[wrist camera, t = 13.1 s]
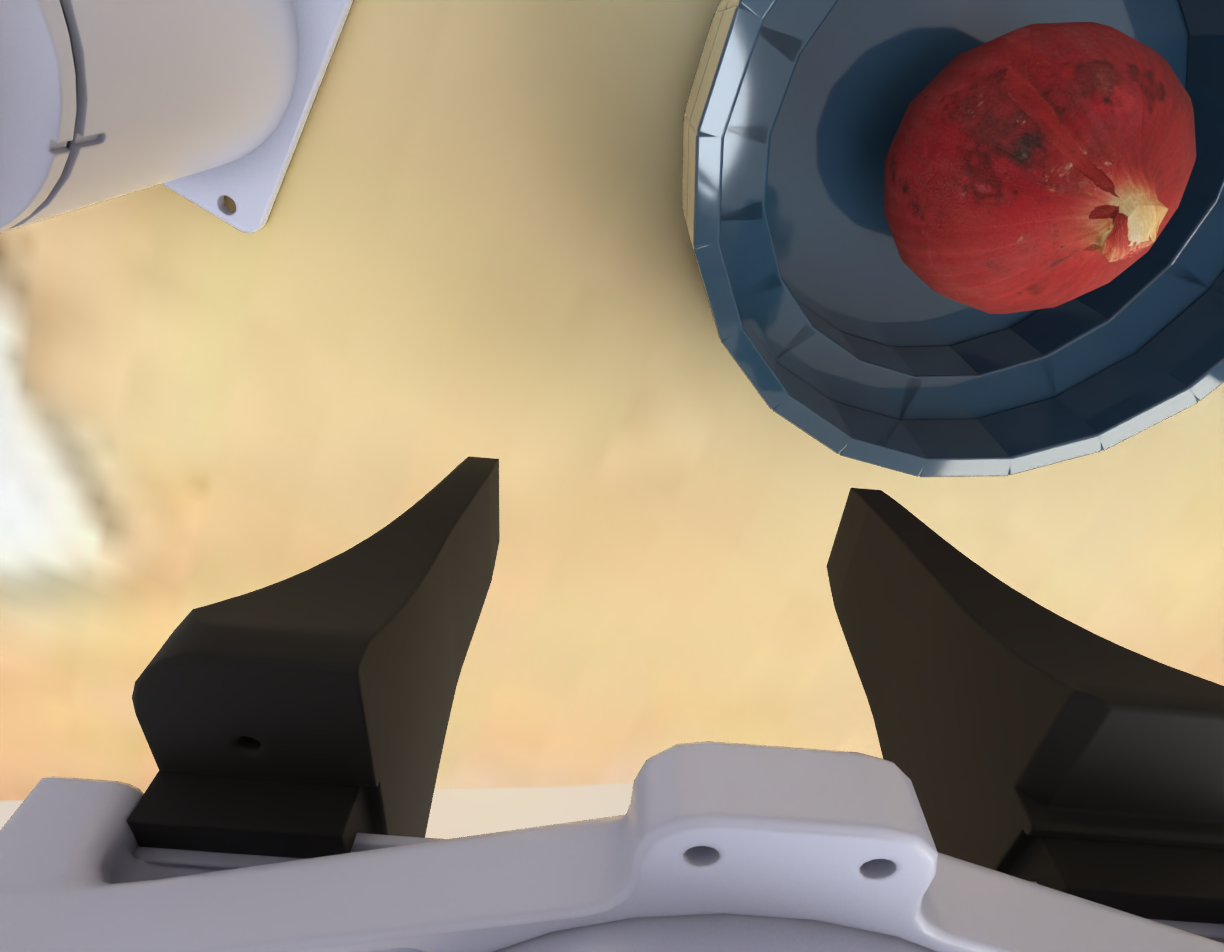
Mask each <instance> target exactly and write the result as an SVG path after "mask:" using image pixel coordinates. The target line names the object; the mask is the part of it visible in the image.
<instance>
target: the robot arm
mask: <svg viewBox="0 0 1224 952" xmlns="http://www.w3.org/2000/svg"><path fill="white" fill-rule="evenodd" d="M352 3H353V0H0V233H2V232H6V231H9V230H12V229H15V228H19V227H22V226H25V225H28V224H32V223H35V222H38V221H41V220H45V219H48V218H51V217H54V216H58V215H61V214H64V213H68V212H71V211H74V210H77V209H81V208H84V207H87V206H90V205H94V204H97V203H100V202H103V201H107V200H110V199H113V198H116V197H120V196H123V195H126V194H130V193H133V192H136V191H139V190H143V189H146V188H149V187H152V186H156V185H159V184H163V185H165V186H166V187H168V188H170V189H171V190H173V191H175V192H176V193H178V194H180V195H181V196H183V197H185V198H186V199H188V200H190V201H191V202H193V203H195V204H196V205H198V206H200V207H201V208H203V209H205V210H206V211H208V212H210V213H211V214H213V215H215V216H216V217H218V218H220V219H221V220H223V221H225V222H226V223H228V224H230V225H231V226H233V227H235V228H236V229H238V230H240V231H242V232H245V233H253V232H255V231H257V230H259V229H261V228H263V227H264V225H265V224H266V222H267V219H268V217H269V214H270V212H271V209H272V207H273V204H274V201H275V199H276V196H277V194H278V191H279V189H280V186H281V184H282V181H283V179H284V176H285V173H286V171H287V168H288V166H289V163H290V161H291V158H292V156H293V153H294V151H295V148H296V145H297V143H298V140H299V138H300V135H301V133H302V130H303V128H304V125H305V123H306V120H307V117H308V115H309V112H310V110H311V107H312V105H313V102H314V100H315V97H316V95H317V92H318V89H319V87H320V84H321V82H322V79H323V77H324V74H325V72H326V69H327V67H328V64H329V61H330V59H331V56H332V54H333V51H334V49H335V46H336V44H337V41H338V39H339V36H340V33H341V31H342V28H343V26H344V23H345V21H346V18H347V16H348V13H349V11H350V8H351V5H352ZM225 195H226V196H229V197H230V198H231V199H232V200H233V201H234V202H235V205H236V211H235V212H233V211H231V210H229V209H228V208H227V207H226V205H225V203H224V196H225ZM498 545H499V459H491V458H479V457H468V458H467V459H465V460H464V461H463V462H462V463H461V464H460V465H458V466H457V467H456V468H455V469H454V470H453V471H452V472H451V473H450V474H449V475H448V476H447V477H445V478H444V479H443V480H442V481H441V482H440V483H439V484H438V485H437V486H436V487H434V488H433V489H432V490H431V491H430V492H429V493H428V494H426V495H425V496H424V497H423V498H422V499H420V500H419V501H418V502H417V503H416V504H415V505H413V506H412V507H411V508H410V509H408V510H407V511H406V512H405V513H403V514H402V515H401V516H399V517H398V518H397V519H395V520H394V521H393V522H391V523H390V524H389V525H387V526H386V527H384V528H383V529H381V530H380V531H378V532H377V533H375V534H374V535H372V536H371V537H369V538H367V539H366V540H364V541H362V542H361V543H359V544H357V545H356V546H354V547H352V548H351V549H349V550H347V551H345V552H343V553H341V554H339V555H337V556H335V557H333V558H331V559H329V560H327V561H325V562H323V563H321V564H319V565H317V566H315V567H313V568H311V569H309V570H307V571H305V572H302V573H300V574H298V575H295V576H293V577H290V578H288V579H286V580H283V581H281V582H278V583H275V584H273V585H270V586H267V587H265V588H262V589H259V590H256V591H253V592H250V593H247V594H244V595H241V596H238V597H234V598H231V599H228V600H224V601H221V602H218V603H214V604H211V605H207V606H204V607H200V608H196V609H193V610H192V611H191V612H190V613H189V614H188V616H187V617H186V618H185V619H184V620H183V621H182V622H181V624H180V625H179V626H178V627H177V628H176V629H175V630H174V632H173V633H172V634H171V636H170V637H169V638H168V640H167V641H166V642H165V644H164V645H163V646H162V648H161V649H160V650H159V652H158V653H157V654H156V656H155V657H154V658H153V660H152V661H151V662H150V664H149V665H148V666H147V667H146V669H145V670H144V671H143V673H142V674H141V675H140V677H139V678H138V679H137V681H136V682H135V686H134V691H133V695H132V700H133V704H134V708H135V713H136V716H137V718H138V721H139V723H140V725H141V728H142V730H143V732H144V735H145V737H146V740H147V742H148V744H149V747H150V749H151V751H152V754H153V756H154V759H155V761H156V763H157V766H158V768H159V772H158V773H157V775H156V776H155V778H154V780H153V781H152V783H151V784H150V786H149V787H148V789H147V790H146V792H145V793H143V792H142V791H141V790H140V789H138V788H136V787H134V786H132V785H130V784H127V783H123V782H118V781H107V780H93V779H79V778H65V777H46V778H43V779H41V780H40V781H39V783H38V784H37V785H36V786H35V788H34V789H33V790H32V791H31V793H30V794H29V795H28V796H27V798H26V799H25V800H24V801H23V803H22V804H21V805H20V807H19V808H18V809H17V810H16V811H15V813H14V814H13V815H12V816H11V818H10V819H9V820H8V821H7V823H6V824H5V825H4V827H3V828H2V829H1V830H0V952H1224V686H1222V685H1219V684H1216V683H1214V682H1211V681H1208V680H1205V679H1203V678H1200V677H1197V676H1194V675H1192V674H1189V673H1186V672H1183V671H1180V670H1178V669H1175V668H1172V667H1169V666H1167V665H1164V664H1162V663H1159V662H1157V661H1154V660H1152V659H1150V658H1147V657H1145V656H1143V655H1140V654H1138V653H1136V652H1133V651H1131V650H1129V649H1126V648H1124V647H1121V646H1119V645H1117V644H1115V643H1113V642H1111V641H1108V640H1106V639H1104V638H1102V637H1100V636H1098V635H1096V634H1094V633H1092V632H1090V631H1088V630H1086V629H1084V628H1082V627H1080V626H1078V625H1076V624H1074V623H1072V622H1070V621H1068V620H1066V619H1064V618H1062V617H1060V616H1058V615H1057V614H1055V613H1053V612H1051V611H1049V610H1048V609H1046V608H1044V607H1042V606H1040V605H1039V604H1037V603H1036V602H1034V601H1032V600H1031V599H1029V598H1027V597H1026V596H1024V595H1022V594H1021V593H1019V592H1017V591H1016V590H1014V589H1012V588H1011V587H1009V586H1008V585H1006V584H1005V583H1003V582H1002V581H1000V580H999V579H997V578H996V577H994V576H993V575H991V574H990V573H988V572H987V571H986V570H984V569H983V568H981V567H980V566H979V565H977V564H976V563H974V562H973V561H971V560H970V559H969V558H967V557H966V556H965V555H963V554H962V553H961V552H959V551H958V550H957V549H955V548H954V547H953V546H952V545H950V544H949V543H948V542H946V541H945V540H944V539H943V538H941V537H940V536H939V535H938V534H936V533H935V532H934V531H933V530H931V529H930V528H929V527H928V526H926V525H925V524H924V523H923V522H921V521H920V520H919V519H918V518H916V517H915V516H914V515H913V514H912V513H910V512H909V511H908V510H907V509H905V508H904V507H903V506H901V505H900V504H899V503H898V502H896V501H895V500H894V499H892V498H891V497H890V496H888V495H887V494H885V493H884V492H882V491H881V490H871V489H858V488H851V489H850V492H849V496H848V499H847V502H846V505H845V509H844V512H843V515H842V518H841V522H840V525H839V528H838V531H837V534H836V538H835V541H834V544H833V547H832V551H831V554H830V557H829V560H828V564H827V570H828V576H829V582H830V587H831V592H832V597H833V601H834V606H835V610H836V613H837V616H838V619H839V621H840V624H841V627H842V630H843V633H844V635H845V638H846V641H847V644H848V647H849V649H850V652H851V655H852V657H853V660H854V663H855V666H856V668H857V671H858V674H859V677H860V679H861V682H862V685H863V688H864V690H865V693H866V696H867V699H868V702H869V705H870V708H871V711H872V715H873V718H874V722H875V726H876V730H877V734H878V738H879V743H880V747H881V751H882V755H883V759H880V758H877V757H873V756H869V755H865V754H862V753H858V752H844V751H831V750H818V749H804V748H791V747H778V746H765V745H751V744H738V743H725V742H711V741H707V742H696V743H685V744H676V745H674V746H672V747H670V748H668V749H666V750H665V751H663V752H661V753H659V754H657V755H655V756H653V757H651V758H649V759H648V760H646V762H645V763H644V765H643V767H642V768H641V770H640V772H639V773H638V775H637V777H636V778H635V780H634V784H633V791H632V797H631V804H630V806H629V809H628V812H627V813H626V814H625V815H619V816H612V817H605V818H597V819H591V820H583V821H577V822H569V823H562V824H554V825H547V826H540V827H533V828H525V829H518V830H511V831H504V832H496V833H490V834H482V835H475V836H467V837H461V838H453V839H434V838H425V834H426V828H427V823H428V818H429V813H430V808H431V803H432V797H433V793H434V788H435V783H436V778H437V773H438V768H439V763H440V758H441V754H442V749H443V744H444V739H445V735H446V730H447V725H448V721H449V717H450V712H451V708H452V703H453V699H454V694H455V690H456V686H457V682H458V679H459V675H460V672H461V669H462V665H463V663H464V660H465V657H466V654H467V651H468V648H469V645H470V642H471V639H472V636H473V633H474V631H475V628H476V625H477V622H478V619H479V616H480V613H481V610H482V607H483V604H484V601H485V598H486V595H487V592H488V589H489V586H490V583H491V580H492V575H493V570H494V565H495V560H496V555H497V550H498Z"/></svg>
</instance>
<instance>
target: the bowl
mask: <svg viewBox="0 0 1224 952" xmlns="http://www.w3.org/2000/svg"><path fill="white" fill-rule="evenodd" d="M1067 22H1095V23H1099V24H1103V25H1107V26H1111V27H1113V28H1115V29H1117V30H1118V31H1120V32H1122V33H1124V34H1126V35H1128V36H1130V37H1132V38H1133V39H1135V40H1137V41H1139V42H1141V43H1143V44H1145V45H1147V46H1148V47H1150V48H1152V49H1154V50H1155V51H1156V52H1157V53H1159V54H1160V55H1161V56H1162V57H1163V58H1164V59H1165V60H1166V61H1167V62H1168V64H1169V65H1170V67H1171V68H1172V70H1173V71H1174V73H1175V74H1176V76H1177V78H1178V79H1179V81H1180V82H1181V84H1182V85H1183V87H1184V88H1185V90H1186V91H1187V93H1188V94H1189V96H1190V98H1191V102H1192V106H1193V110H1194V125H1195V141H1196V159H1195V163H1194V166H1193V169H1192V172H1191V174H1190V177H1189V180H1188V182H1187V185H1186V188H1185V190H1184V193H1183V196H1182V198H1181V201H1180V204H1179V207H1178V208H1177V210H1176V211H1175V213H1174V214H1173V216H1172V217H1171V218H1170V220H1169V221H1168V223H1167V224H1166V226H1165V227H1164V229H1163V230H1162V232H1161V233H1160V235H1159V236H1158V238H1157V239H1156V241H1155V242H1154V244H1153V245H1152V246H1151V248H1150V249H1149V251H1148V252H1147V253H1146V254H1144V255H1143V256H1142V257H1141V258H1139V259H1138V260H1137V261H1136V262H1134V263H1133V264H1132V265H1131V266H1129V267H1128V268H1127V269H1126V270H1124V271H1123V272H1122V273H1121V274H1119V275H1118V276H1117V277H1116V278H1114V279H1113V280H1112V281H1111V282H1109V283H1108V284H1105V285H1103V286H1101V287H1099V288H1097V289H1094V290H1092V291H1090V292H1088V293H1086V294H1084V295H1081V296H1079V297H1077V298H1075V299H1073V300H1070V301H1068V302H1066V303H1064V304H1061V305H1059V306H1057V307H1053V308H1046V309H1038V310H1031V311H1023V312H1016V313H1008V314H989V313H986V312H983V311H981V310H978V309H975V308H973V307H970V306H967V305H965V304H962V303H959V302H957V301H954V300H951V299H948V298H946V297H944V296H942V295H940V294H939V293H937V292H935V291H933V290H932V289H931V288H930V287H929V286H928V285H927V284H926V283H925V282H924V281H922V280H921V279H920V278H919V277H918V276H917V275H916V274H915V273H914V272H913V271H912V270H911V269H910V268H909V267H908V266H907V265H906V264H905V263H903V262H902V260H901V257H900V255H899V252H898V249H897V247H896V244H895V241H894V239H893V236H892V233H891V231H890V228H889V225H888V223H887V220H886V216H885V211H884V174H885V157H886V154H887V152H888V150H889V148H890V145H891V143H892V141H893V139H894V136H895V134H896V132H897V130H898V128H899V125H900V123H901V121H902V119H903V116H904V114H905V112H906V110H907V107H908V105H909V103H910V102H911V101H912V100H913V99H914V98H915V97H916V96H917V95H918V94H919V93H920V92H921V91H922V90H923V89H924V88H925V87H926V86H927V85H928V84H929V83H930V82H931V81H932V80H933V79H934V78H935V76H936V75H937V74H938V73H939V72H940V71H941V70H942V69H943V68H944V67H945V66H946V65H947V64H948V63H949V62H950V61H951V60H952V59H953V58H954V57H955V56H957V55H959V54H961V53H963V52H966V51H968V50H970V49H973V48H975V47H977V46H979V45H982V44H984V43H986V42H989V41H991V40H993V39H995V38H998V37H1000V36H1002V35H1004V34H1007V33H1009V32H1011V31H1014V30H1016V29H1019V28H1022V27H1025V26H1028V25H1030V24H1038V23H1067ZM682 206H683V213H684V217H685V221H686V225H687V228H688V232H689V236H690V239H691V243H692V247H693V250H694V254H695V257H696V260H697V264H698V267H699V270H700V274H701V277H702V281H703V284H704V287H705V291H706V294H707V297H708V301H709V304H710V308H711V311H712V314H713V318H714V321H715V324H716V328H717V331H718V334H719V338H720V339H721V342H722V344H723V345H724V346H725V348H726V349H727V350H728V352H729V353H730V355H731V356H732V357H733V359H734V360H735V361H736V363H737V364H738V365H739V367H740V368H741V370H742V371H743V372H744V374H745V375H746V376H747V378H748V379H749V380H750V382H751V383H752V385H753V386H754V387H755V389H756V390H757V391H758V393H759V394H760V395H761V397H762V398H763V400H764V401H765V402H766V404H767V405H768V406H769V408H770V409H772V410H773V411H774V412H776V413H777V414H779V415H780V416H782V417H783V418H785V419H786V420H788V421H789V422H791V423H792V424H793V425H795V426H796V427H798V428H799V429H801V430H802V431H804V432H805V433H807V434H808V435H810V436H811V437H813V438H814V439H816V440H817V441H819V442H820V443H822V444H823V445H825V446H826V447H828V448H829V449H831V450H832V451H834V452H835V453H837V454H840V455H841V456H845V457H848V458H852V459H856V460H859V461H863V462H866V463H870V464H874V465H877V466H881V467H885V468H888V469H892V470H896V471H899V472H903V473H907V474H910V475H914V476H920V477H964V476H1007V475H1012V474H1016V473H1020V472H1024V471H1028V470H1032V469H1035V468H1039V467H1043V466H1047V465H1051V464H1054V463H1058V462H1062V461H1066V460H1070V459H1074V458H1077V457H1081V456H1085V455H1089V454H1093V453H1096V452H1100V451H1101V450H1106V449H1108V448H1110V447H1112V446H1114V445H1116V444H1118V443H1120V442H1122V441H1124V440H1126V439H1128V438H1130V437H1132V436H1134V435H1135V434H1137V433H1139V432H1141V431H1143V430H1145V429H1147V428H1149V427H1151V426H1153V425H1155V424H1157V423H1159V422H1161V421H1163V420H1165V419H1167V418H1169V417H1171V416H1173V415H1175V414H1177V413H1179V412H1181V411H1183V410H1185V409H1187V408H1189V407H1191V406H1193V405H1195V404H1196V403H1198V401H1200V400H1202V399H1203V398H1204V397H1206V396H1207V395H1208V394H1209V393H1211V392H1212V391H1213V390H1215V389H1216V388H1217V387H1218V386H1220V385H1221V384H1222V383H1223V382H1224V0H722V1H721V3H720V4H719V6H718V7H717V9H716V13H715V14H714V17H713V20H712V23H711V26H710V30H709V33H708V36H707V40H706V43H705V46H704V49H703V53H702V56H701V59H700V63H699V66H698V69H697V72H696V76H695V79H694V82H693V85H692V89H691V92H690V95H689V99H688V102H687V105H686V108H685V116H684V127H683V186H682Z"/></svg>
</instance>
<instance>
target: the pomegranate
mask: <svg viewBox="0 0 1224 952" xmlns="http://www.w3.org/2000/svg"><path fill="white" fill-rule="evenodd" d="M1195 159H1196V141H1195V125H1194V110H1193V106H1192V102H1191V98H1190V96H1189V94H1188V93H1187V91H1186V90H1185V88H1184V87H1183V85H1182V84H1181V82H1180V81H1179V79H1178V78H1177V76H1176V74H1175V73H1174V71H1173V70H1172V68H1171V67H1170V65H1169V64H1168V62H1167V61H1166V60H1165V59H1164V58H1163V57H1162V56H1161V55H1160V54H1159V53H1157V52H1156V51H1155V50H1154V49H1152V48H1150V47H1148V46H1147V45H1145V44H1143V43H1141V42H1139V41H1137V40H1135V39H1133V38H1132V37H1130V36H1128V35H1126V34H1124V33H1122V32H1120V31H1118V30H1117V29H1115V28H1113V27H1111V26H1107V25H1103V24H1099V23H1095V22H1067V23H1038V24H1030V25H1028V26H1025V27H1022V28H1019V29H1016V30H1014V31H1011V32H1009V33H1007V34H1004V35H1002V36H1000V37H998V38H995V39H993V40H991V41H989V42H986V43H984V44H982V45H979V46H977V47H975V48H973V49H970V50H968V51H966V52H963V53H961V54H959V55H957V56H955V57H954V58H953V59H952V60H951V61H950V62H949V63H948V64H947V65H946V66H945V67H944V68H943V69H942V70H941V71H940V72H939V73H938V74H937V75H936V76H935V78H934V79H933V80H932V81H931V82H930V83H929V84H928V85H927V86H926V87H925V88H924V89H923V90H922V91H921V92H920V93H919V94H918V95H917V96H916V97H915V98H914V99H913V100H912V101H911V102H910V103H909V105H908V107H907V110H906V112H905V114H904V116H903V119H902V121H901V123H900V125H899V128H898V130H897V132H896V134H895V136H894V139H893V141H892V143H891V145H890V148H889V150H888V152H887V154H886V157H885V174H884V211H885V216H886V220H887V223H888V225H889V228H890V231H891V233H892V236H893V239H894V241H895V244H896V247H897V249H898V252H899V255H900V257H901V260H902V262H903V263H905V264H906V265H907V266H908V267H909V268H910V269H911V270H912V271H913V272H914V273H915V274H916V275H917V276H918V277H919V278H920V279H921V280H922V281H924V282H925V283H926V284H927V285H928V286H929V287H930V288H931V289H932V290H933V291H935V292H937V293H939V294H940V295H942V296H944V297H946V298H948V299H951V300H954V301H957V302H959V303H962V304H965V305H967V306H970V307H973V308H975V309H978V310H981V311H983V312H986V313H989V314H1008V313H1016V312H1023V311H1031V310H1038V309H1046V308H1053V307H1057V306H1059V305H1061V304H1064V303H1066V302H1068V301H1070V300H1073V299H1075V298H1077V297H1079V296H1081V295H1084V294H1086V293H1088V292H1090V291H1092V290H1094V289H1097V288H1099V287H1101V286H1103V285H1105V284H1108V283H1109V282H1111V281H1112V280H1113V279H1114V278H1116V277H1117V276H1118V275H1119V274H1121V273H1122V272H1123V271H1124V270H1126V269H1127V268H1128V267H1129V266H1131V265H1132V264H1133V263H1134V262H1136V261H1137V260H1138V259H1139V258H1141V257H1142V256H1143V255H1144V254H1146V253H1147V252H1148V251H1149V249H1150V248H1151V246H1152V245H1153V244H1154V242H1155V241H1156V239H1157V238H1158V236H1159V235H1160V233H1161V232H1162V230H1163V229H1164V227H1165V226H1166V224H1167V223H1168V221H1169V220H1170V218H1171V217H1172V216H1173V214H1174V213H1175V211H1176V210H1177V208H1178V207H1179V204H1180V201H1181V198H1182V196H1183V193H1184V190H1185V188H1186V185H1187V182H1188V180H1189V177H1190V174H1191V172H1192V169H1193V166H1194V163H1195Z"/></svg>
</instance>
